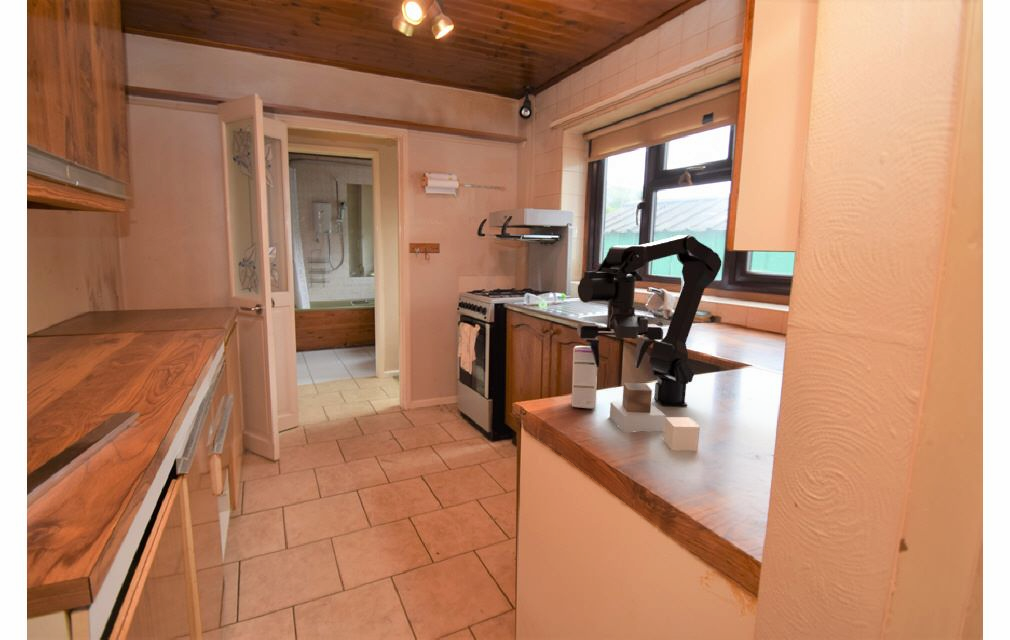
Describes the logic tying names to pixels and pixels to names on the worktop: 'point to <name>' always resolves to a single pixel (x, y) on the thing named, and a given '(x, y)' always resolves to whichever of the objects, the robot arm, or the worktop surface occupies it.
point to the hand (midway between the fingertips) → (617, 367)
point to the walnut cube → (637, 397)
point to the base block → (637, 419)
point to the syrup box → (584, 378)
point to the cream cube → (681, 433)
